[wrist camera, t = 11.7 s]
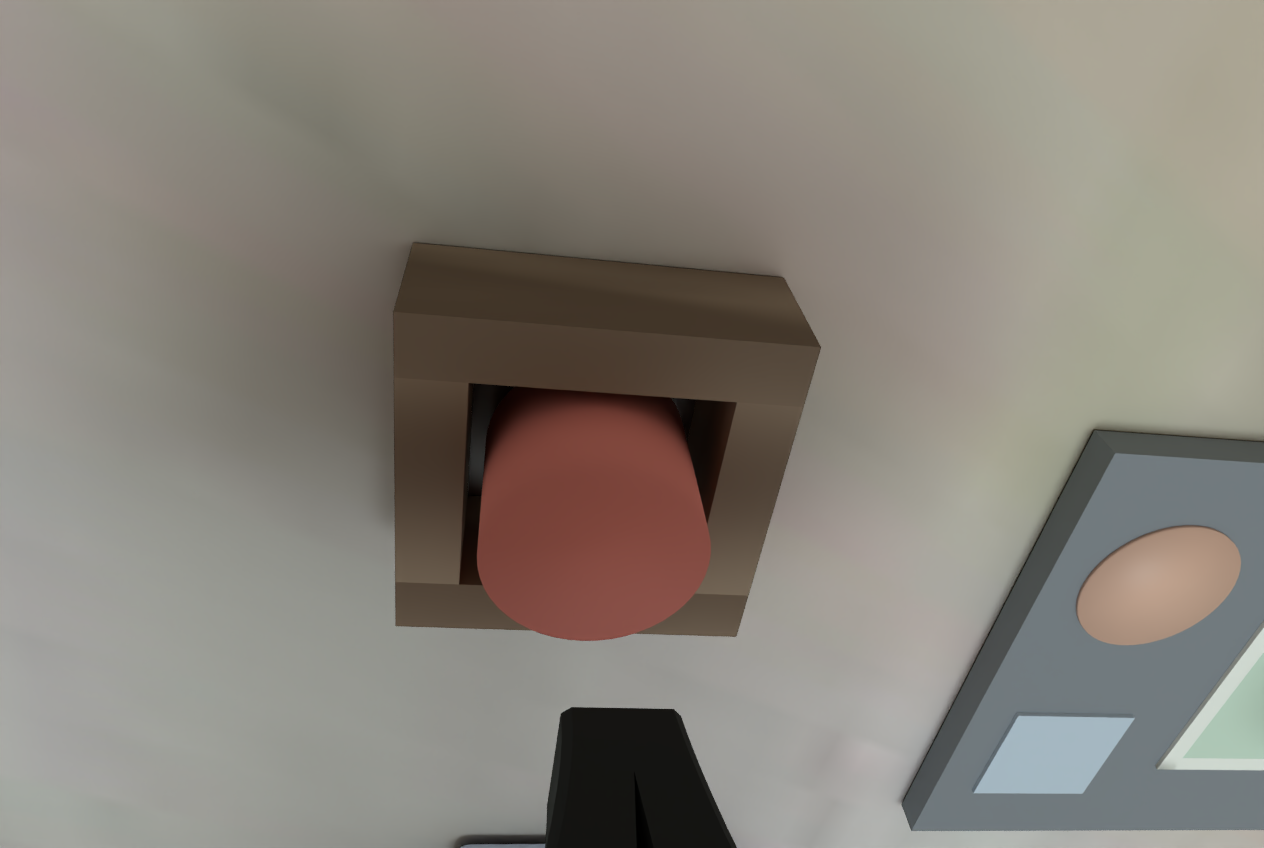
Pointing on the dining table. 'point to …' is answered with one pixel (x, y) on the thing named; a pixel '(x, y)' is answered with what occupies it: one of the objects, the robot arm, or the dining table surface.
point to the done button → (589, 513)
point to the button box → (594, 362)
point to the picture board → (1120, 657)
